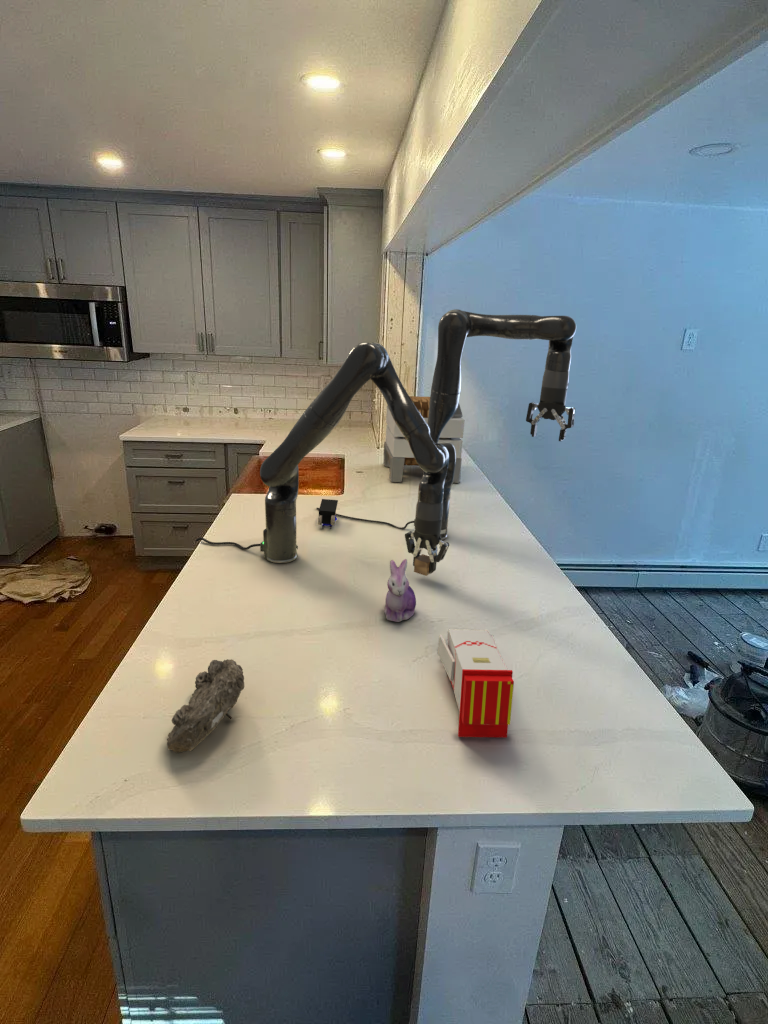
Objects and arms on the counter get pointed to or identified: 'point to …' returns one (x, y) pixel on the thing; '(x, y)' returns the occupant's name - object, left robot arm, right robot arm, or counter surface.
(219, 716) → the fossil
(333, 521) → the figurine character
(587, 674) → the counter surface
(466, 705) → the toy
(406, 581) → the figurine
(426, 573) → the block
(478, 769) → the counter surface
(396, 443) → the grey slatted planter box
